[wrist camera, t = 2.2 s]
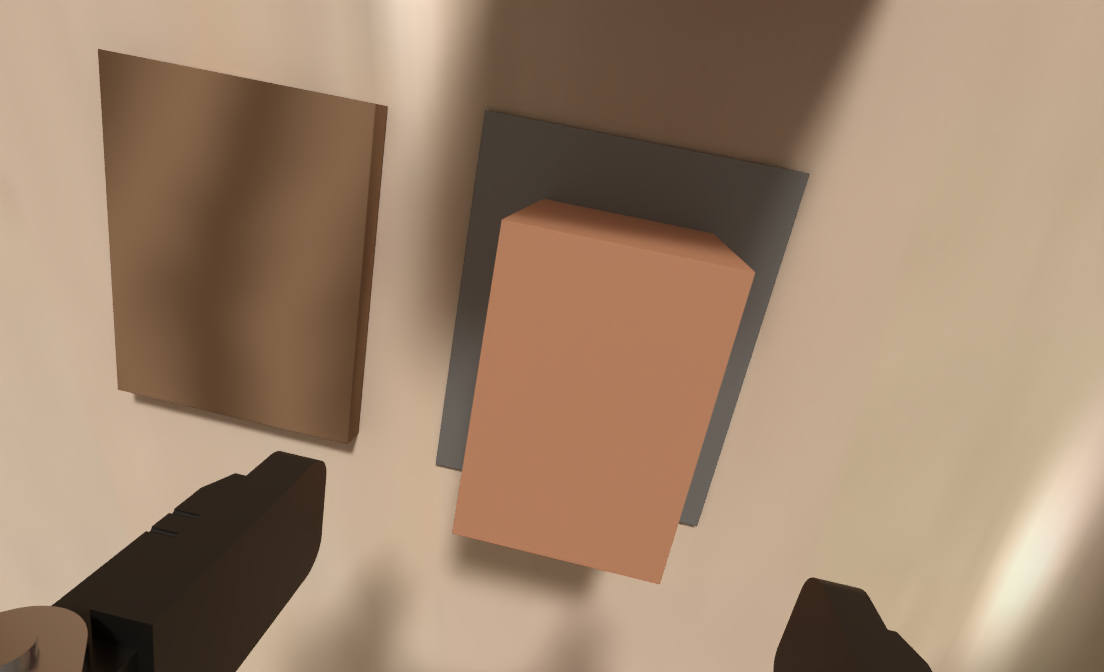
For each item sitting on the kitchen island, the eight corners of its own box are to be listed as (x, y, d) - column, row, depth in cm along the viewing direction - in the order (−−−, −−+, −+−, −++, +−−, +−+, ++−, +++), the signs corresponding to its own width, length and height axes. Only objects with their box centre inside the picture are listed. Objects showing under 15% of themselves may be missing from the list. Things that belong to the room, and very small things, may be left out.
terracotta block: (713, 233, 20) (755, 272, 13) (650, 459, 23) (660, 584, 16) (543, 198, 20) (501, 219, 14) (503, 424, 23) (452, 533, 16)
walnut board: (387, 106, 20) (375, 104, 19) (358, 432, 24) (347, 444, 23) (122, 54, 21) (98, 49, 20) (137, 380, 25) (118, 389, 24)
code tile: (808, 173, 19) (809, 173, 19) (696, 523, 23) (697, 526, 23) (486, 110, 20) (485, 109, 20) (436, 462, 24) (435, 464, 24)
